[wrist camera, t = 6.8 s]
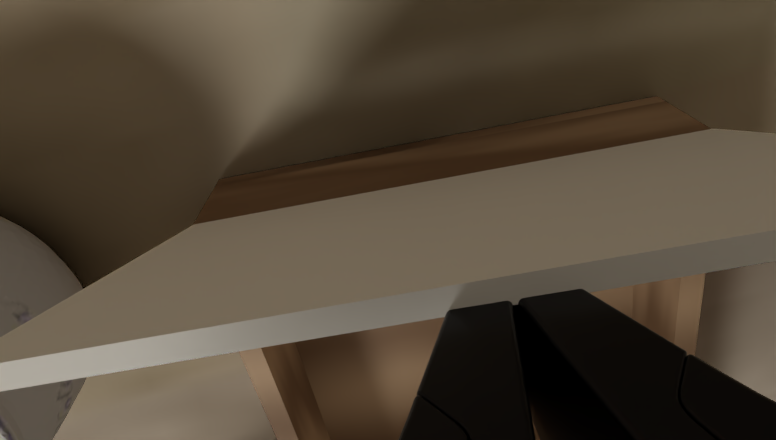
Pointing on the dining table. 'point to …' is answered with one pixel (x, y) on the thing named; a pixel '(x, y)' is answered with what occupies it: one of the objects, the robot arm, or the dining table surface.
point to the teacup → (17, 306)
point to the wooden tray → (417, 339)
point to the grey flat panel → (416, 255)
